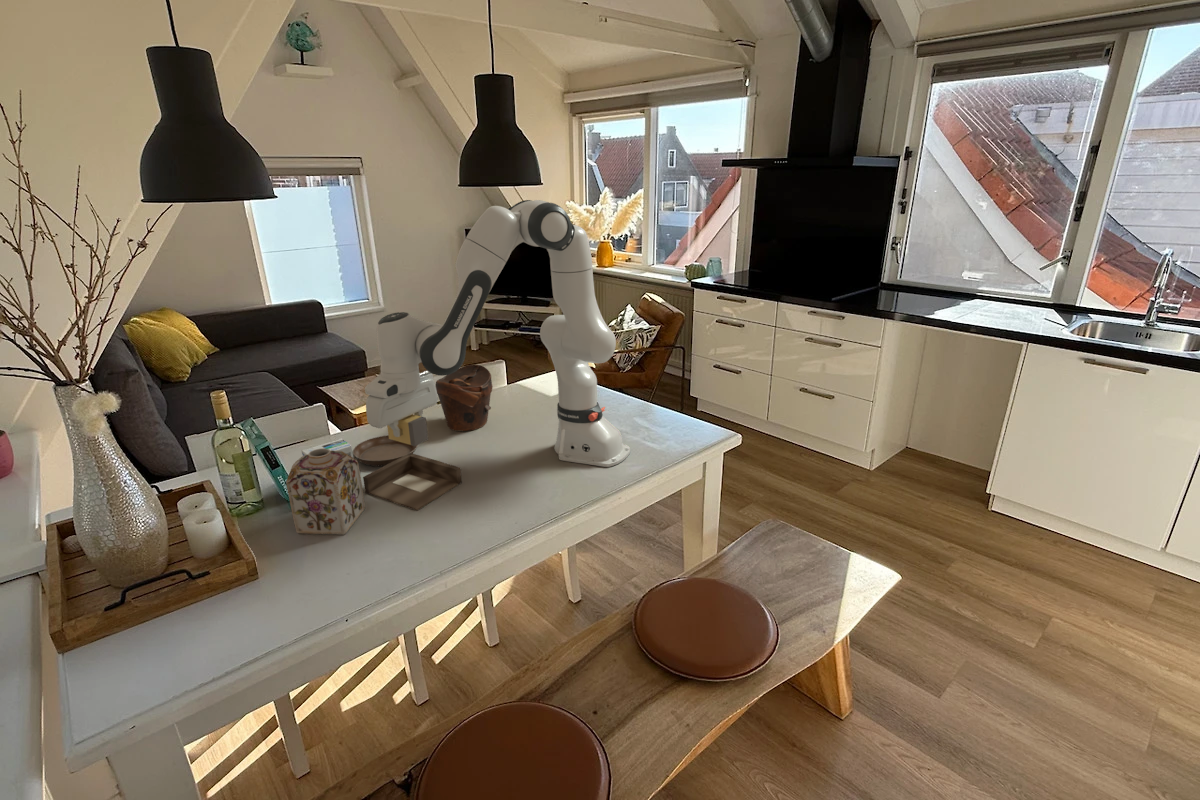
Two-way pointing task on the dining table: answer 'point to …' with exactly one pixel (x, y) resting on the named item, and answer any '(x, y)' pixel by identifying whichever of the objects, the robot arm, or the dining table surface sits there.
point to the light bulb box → (332, 447)
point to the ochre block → (411, 430)
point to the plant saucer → (381, 451)
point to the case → (465, 397)
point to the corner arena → (412, 481)
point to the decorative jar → (325, 492)
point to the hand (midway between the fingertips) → (407, 431)
